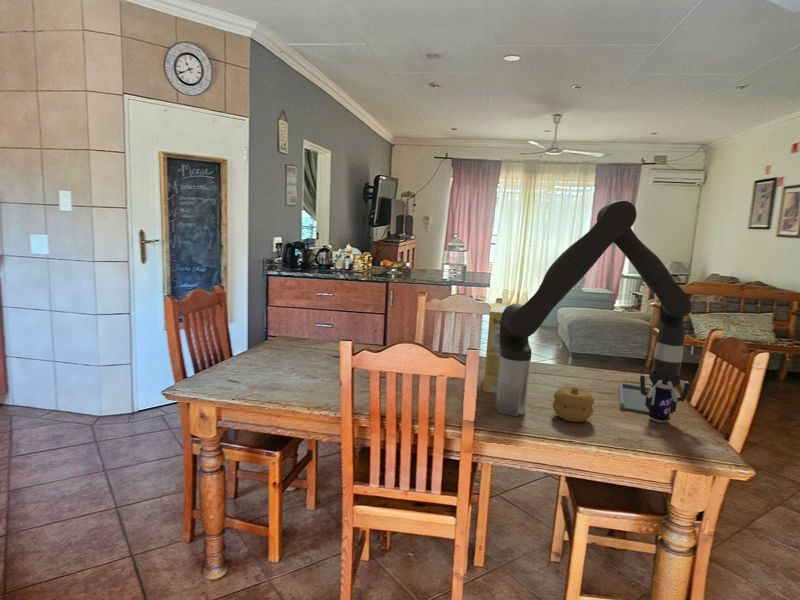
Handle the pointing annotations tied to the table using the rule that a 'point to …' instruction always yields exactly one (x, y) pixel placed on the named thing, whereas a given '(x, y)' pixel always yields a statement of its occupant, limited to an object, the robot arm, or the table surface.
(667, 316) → the robot arm
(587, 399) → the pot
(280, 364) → the table surface
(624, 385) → the gray tray
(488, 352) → the pasta box
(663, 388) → the beverage can
